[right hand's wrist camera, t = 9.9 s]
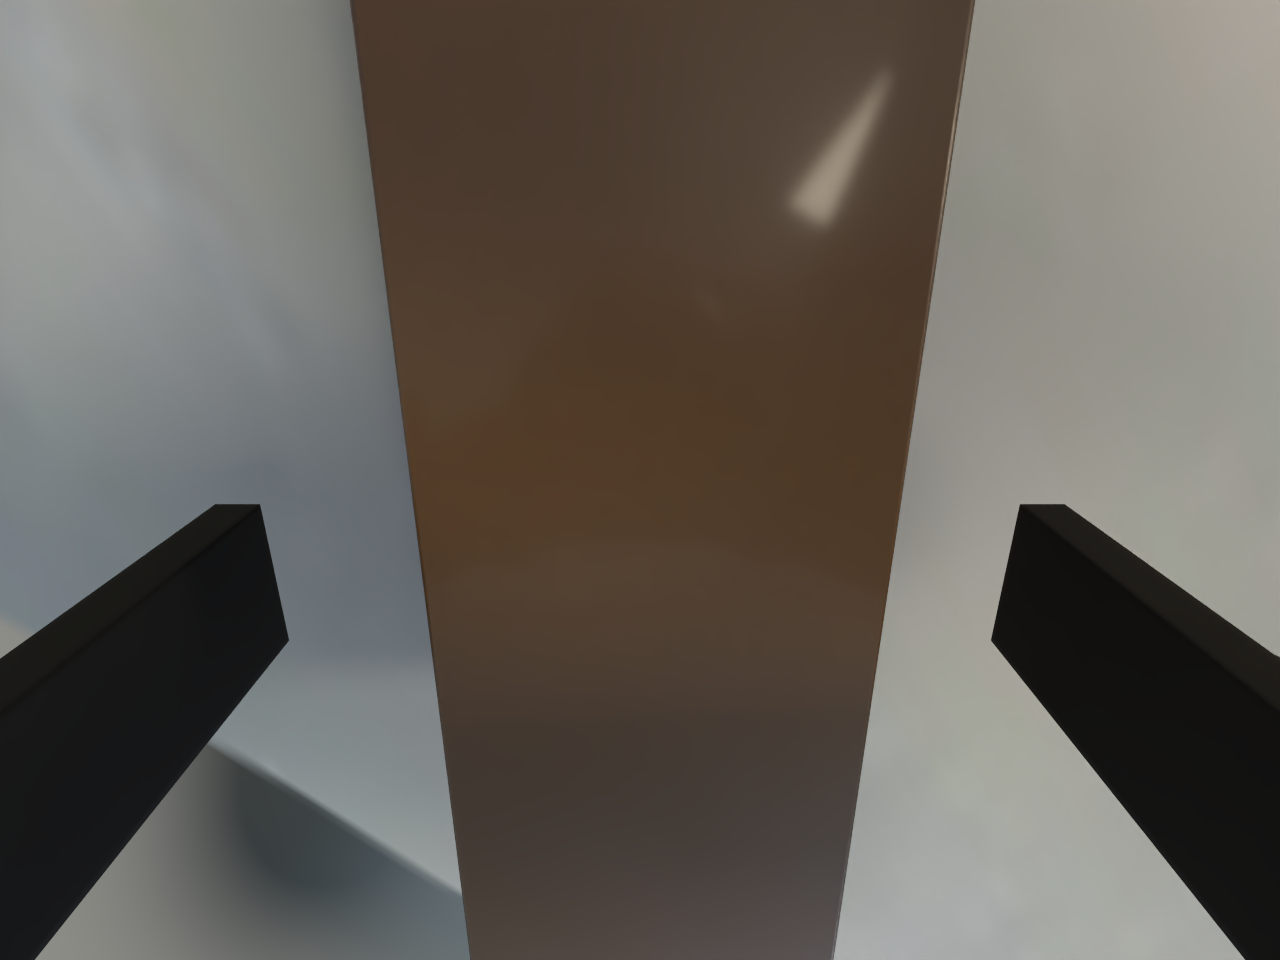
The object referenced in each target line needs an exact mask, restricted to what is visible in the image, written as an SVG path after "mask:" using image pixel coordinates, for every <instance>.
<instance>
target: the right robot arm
mask: <svg viewBox="0 0 1280 960" xmlns="http://www.w3.org/2000/svg"><path fill="white" fill-rule="evenodd" d="M288 641H289V638H288V634H287V629H286V624H285V620H284V615H283V610H282V605H281V601H280V596H279V591H278V587H277V582H276V577H275V573H274V568H273V563H272V559H271V554H270V549H269V544H268V540H267V535H266V530H265V526H264V521H263V516H262V512H261V507H260V504H215V505H214V506H212V507H211V508H210V509H208V510H207V511H205V512H204V513H203V514H201V515H200V516H198V517H197V518H196V519H194V520H193V521H191V522H190V523H189V524H187V525H186V526H185V527H183V528H182V529H180V530H179V531H178V532H176V533H175V534H173V535H172V536H171V537H169V538H168V539H166V540H165V541H164V542H162V543H161V544H159V545H158V546H157V547H155V548H154V549H152V550H151V551H150V552H148V553H147V554H145V555H144V556H143V557H141V558H140V559H139V560H137V561H136V562H134V563H133V564H132V565H130V566H129V567H127V568H126V569H125V570H123V571H122V572H120V573H119V574H118V575H116V576H115V577H113V578H112V579H111V580H109V581H108V582H106V583H105V584H104V585H102V586H101V587H100V588H98V589H97V590H95V591H94V592H93V593H91V594H90V595H88V596H87V597H86V598H84V599H83V600H81V601H80V602H79V603H77V604H76V605H74V606H73V607H72V608H70V609H69V610H67V611H66V612H65V613H63V614H62V615H60V616H59V617H58V618H56V619H55V620H54V621H52V622H51V623H49V624H48V625H47V626H45V627H44V628H42V629H41V630H40V631H38V632H37V633H35V634H34V635H33V636H31V637H30V638H28V639H27V640H26V641H24V642H23V643H22V644H20V645H19V646H17V647H16V648H15V649H13V650H12V651H10V652H9V653H8V654H6V655H5V656H3V657H2V658H1V659H0V960H35V959H36V957H37V956H38V955H39V954H40V952H41V951H42V950H43V949H44V947H45V946H46V945H47V944H48V942H49V941H50V940H51V939H52V937H53V936H54V935H55V933H56V932H57V931H58V930H59V929H60V927H61V926H62V925H63V923H64V922H65V921H66V920H67V918H68V917H69V916H70V915H71V913H72V912H73V911H74V910H75V908H76V907H77V906H78V905H79V903H80V902H81V901H82V900H83V898H84V897H85V896H86V895H87V893H88V892H89V891H90V890H91V888H92V887H93V886H94V885H95V883H96V882H97V881H98V880H99V878H100V877H101V876H102V875H103V873H104V872H105V871H106V870H107V868H108V867H109V866H110V864H111V863H112V862H113V861H114V859H115V858H116V857H117V856H118V854H119V853H120V852H121V851H122V849H123V848H124V847H125V846H126V844H127V843H128V842H129V841H130V839H131V838H132V837H133V836H134V834H135V833H136V832H137V831H138V829H139V828H140V827H141V826H142V824H143V823H144V822H145V821H146V819H147V818H148V817H149V815H150V814H151V813H152V812H153V810H154V809H155V808H156V807H157V805H158V804H159V803H160V802H161V800H162V799H163V798H164V797H165V795H166V794H167V793H168V792H169V790H170V789H171V788H172V787H173V785H174V784H175V783H176V782H177V780H178V779H179V778H180V777H181V775H182V774H183V773H184V772H185V770H186V769H187V768H188V767H189V765H190V764H191V763H192V761H193V760H194V759H195V758H196V756H197V755H198V754H199V753H200V751H201V750H202V749H203V748H204V746H205V745H206V744H207V743H208V741H209V740H210V739H211V738H212V736H213V735H214V734H215V733H216V731H217V730H218V729H219V728H220V726H221V725H222V724H223V723H224V721H225V720H226V719H227V718H228V716H229V715H230V714H231V713H232V711H233V710H234V709H235V708H236V706H237V705H238V704H239V703H240V701H241V700H242V699H243V697H244V696H245V695H246V694H247V692H248V691H249V690H250V689H251V687H252V686H253V685H254V684H255V682H256V681H257V680H258V679H259V677H260V676H261V675H262V674H263V672H264V671H265V670H266V669H267V667H268V666H269V665H270V664H271V662H272V661H273V660H274V659H275V657H276V656H277V655H278V654H279V652H280V651H281V650H282V649H283V647H284V646H285V645H286V643H287V642H288ZM991 641H992V642H993V644H994V645H995V646H996V647H997V649H998V650H999V651H1000V652H1001V654H1002V655H1003V656H1004V657H1005V659H1006V660H1007V661H1008V662H1009V664H1010V665H1011V666H1012V667H1013V669H1014V670H1015V671H1016V672H1017V674H1018V675H1019V676H1020V677H1021V679H1022V680H1023V681H1024V682H1025V684H1026V685H1027V686H1028V687H1029V689H1030V690H1031V691H1032V692H1033V694H1034V695H1035V696H1036V698H1037V699H1038V700H1039V701H1040V703H1041V704H1042V705H1043V706H1044V708H1045V709H1046V710H1047V711H1048V713H1049V714H1050V715H1051V716H1052V718H1053V719H1054V720H1055V721H1056V723H1057V724H1058V725H1059V726H1060V728H1061V729H1062V730H1063V731H1064V733H1065V734H1066V735H1067V736H1068V738H1069V739H1070V740H1071V741H1072V743H1073V744H1074V745H1075V746H1076V748H1077V749H1078V750H1079V751H1080V753H1081V754H1082V755H1083V757H1084V758H1085V759H1086V760H1087V762H1088V763H1089V764H1090V765H1091V767H1092V768H1093V769H1094V770H1095V772H1096V773H1097V774H1098V775H1099V777H1100V778H1101V779H1102V780H1103V782H1104V783H1105V784H1106V785H1107V787H1108V788H1109V789H1110V790H1111V792H1112V793H1113V794H1114V795H1115V797H1116V798H1117V799H1118V800H1119V802H1120V803H1121V804H1122V805H1123V807H1124V808H1125V809H1126V811H1127V812H1128V813H1129V814H1130V816H1131V817H1132V818H1133V819H1134V821H1135V822H1136V823H1137V824H1138V826H1139V827H1140V828H1141V829H1142V831H1143V832H1144V833H1145V834H1146V836H1147V837H1148V838H1149V839H1150V841H1151V842H1152V843H1153V844H1154V846H1155V847H1156V848H1157V849H1158V851H1159V852H1160V853H1161V854H1162V856H1163V857H1164V858H1165V859H1166V861H1167V862H1168V863H1169V864H1170V866H1171V867H1172V868H1173V870H1174V871H1175V872H1176V873H1177V875H1178V876H1179V877H1180V878H1181V880H1182V881H1183V882H1184V883H1185V885H1186V886H1187V887H1188V888H1189V890H1190V891H1191V892H1192V893H1193V895H1194V896H1195V897H1196V898H1197V900H1198V901H1199V902H1200V903H1201V905H1202V906H1203V907H1204V908H1205V910H1206V911H1207V912H1208V913H1209V915H1210V916H1211V917H1212V918H1213V920H1214V921H1215V922H1216V924H1217V925H1218V926H1219V927H1220V929H1221V930H1222V931H1223V932H1224V934H1225V935H1226V936H1227V937H1228V939H1229V940H1230V941H1231V942H1232V944H1233V945H1234V946H1235V947H1236V949H1237V950H1238V951H1239V952H1240V954H1241V955H1242V956H1243V957H1244V959H1245V960H1280V657H1279V656H1276V655H1274V654H1272V653H1271V652H1270V651H1268V650H1267V649H1265V648H1264V647H1263V646H1261V645H1260V644H1259V643H1257V642H1256V641H1254V640H1253V639H1252V638H1250V637H1249V636H1247V635H1246V634H1245V633H1243V632H1242V631H1240V630H1239V629H1238V628H1236V627H1235V626H1233V625H1232V624H1231V623H1229V622H1228V621H1226V620H1225V619H1224V618H1222V617H1221V616H1220V615H1218V614H1217V613H1215V612H1214V611H1213V610H1211V609H1210V608H1208V607H1207V606H1206V605H1204V604H1203V603H1201V602H1200V601H1199V600H1197V599H1196V598H1194V597H1193V596H1192V595H1190V594H1189V593H1187V592H1186V591H1185V590H1183V589H1182V588H1180V587H1179V586H1178V585H1176V584H1175V583H1174V582H1172V581H1171V580H1169V579H1168V578H1167V577H1165V576H1164V575H1162V574H1161V573H1160V572H1158V571H1157V570H1155V569H1154V568H1153V567H1151V566H1150V565H1148V564H1147V563H1146V562H1144V561H1143V560H1141V559H1140V558H1139V557H1137V556H1136V555H1135V554H1133V553H1132V552H1130V551H1129V550H1128V549H1126V548H1125V547H1123V546H1122V545H1121V544H1119V543H1118V542H1116V541H1115V540H1114V539H1112V538H1111V537H1109V536H1108V535H1107V534H1105V533H1104V532H1102V531H1101V530H1100V529H1098V528H1097V527H1095V526H1094V525H1093V524H1091V523H1090V522H1089V521H1087V520H1086V519H1084V518H1083V517H1082V516H1080V515H1079V514H1077V513H1076V512H1075V511H1073V510H1072V509H1070V508H1069V507H1068V506H1066V505H1065V504H1020V507H1019V512H1018V516H1017V521H1016V526H1015V530H1014V535H1013V540H1012V544H1011V549H1010V554H1009V559H1008V563H1007V568H1006V573H1005V577H1004V582H1003V587H1002V591H1001V596H1000V601H999V605H998V610H997V615H996V620H995V624H994V629H993V634H992V638H991Z"/></svg>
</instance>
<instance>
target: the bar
mask: <svg viewBox="0 0 1280 960" xmlns="http://www.w3.org/2000/svg"><path fill="white" fill-rule="evenodd" d="M974 4H975V0H350V5H351V13H352V21H353V29H354V37H355V45H356V53H357V61H358V69H359V77H360V85H361V93H362V101H363V109H364V117H365V125H366V133H367V140H368V148H369V156H370V164H371V172H372V180H373V188H374V196H375V204H376V212H377V220H378V228H379V236H380V244H381V252H382V260H383V268H384V276H385V284H386V292H387V300H388V308H389V316H390V324H391V331H392V339H393V347H394V355H395V363H396V371H397V379H398V387H399V395H400V403H401V411H402V419H403V427H404V435H405V443H406V451H407V459H408V467H409V475H410V483H411V491H412V499H413V507H414V515H415V522H416V530H417V538H418V546H419V554H420V562H421V570H422V578H423V586H424V594H425V602H426V610H427V618H428V626H429V634H430V642H431V650H432V658H433V666H434V674H435V682H436V690H437V698H438V706H439V713H440V721H441V729H442V737H443V745H444V753H445V761H446V769H447V777H448V785H449V793H450V801H451V809H452V817H453V825H454V833H455V841H456V849H457V857H458V865H459V873H460V881H461V889H462V897H463V904H464V912H465V920H466V928H467V936H468V944H469V952H470V960H833V958H834V952H835V945H836V938H837V931H838V925H839V918H840V911H841V904H842V897H843V891H844V884H845V877H846V870H847V864H848V857H849V850H850V843H851V837H852V830H853V823H854V816H855V810H856V803H857V796H858V789H859V782H860V776H861V769H862V762H863V755H864V749H865V742H866V735H867V728H868V722H869V715H870V708H871V701H872V694H873V688H874V681H875V674H876V667H877V661H878V654H879V647H880V640H881V634H882V627H883V620H884V613H885V607H886V600H887V593H888V586H889V579H890V573H891V566H892V559H893V552H894V546H895V539H896V532H897V525H898V519H899V512H900V505H901V498H902V492H903V485H904V478H905V471H906V464H907V458H908V451H909V444H910V437H911V431H912V424H913V417H914V410H915V404H916V397H917V390H918V383H919V377H920V370H921V363H922V356H923V349H924V343H925V336H926V329H927V322H928V316H929V309H930V302H931V295H932V289H933V282H934V275H935V268H936V262H937V255H938V248H939V241H940V234H941V228H942V221H943V214H944V207H945V201H946V194H947V187H948V180H949V174H950V167H951V160H952V153H953V147H954V140H955V133H956V126H957V119H958V113H959V106H960V99H961V92H962V86H963V79H964V72H965V65H966V59H967V52H968V45H969V38H970V31H971V25H972V18H973V11H974Z"/></svg>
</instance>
